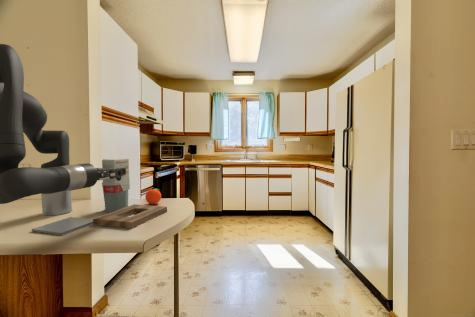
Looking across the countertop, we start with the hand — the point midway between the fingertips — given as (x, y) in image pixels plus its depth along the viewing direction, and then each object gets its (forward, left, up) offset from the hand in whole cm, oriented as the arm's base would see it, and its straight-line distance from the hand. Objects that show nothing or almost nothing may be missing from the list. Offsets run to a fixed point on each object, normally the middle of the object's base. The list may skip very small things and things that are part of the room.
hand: (118, 171), depth 88 cm
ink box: (0, -1, -7) cm, 8 cm away
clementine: (-1, +22, -18) cm, 28 cm away
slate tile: (-11, -12, -18) cm, 24 cm away
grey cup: (-11, +10, -18) cm, 23 cm away
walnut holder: (+4, +2, -18) cm, 18 cm away
